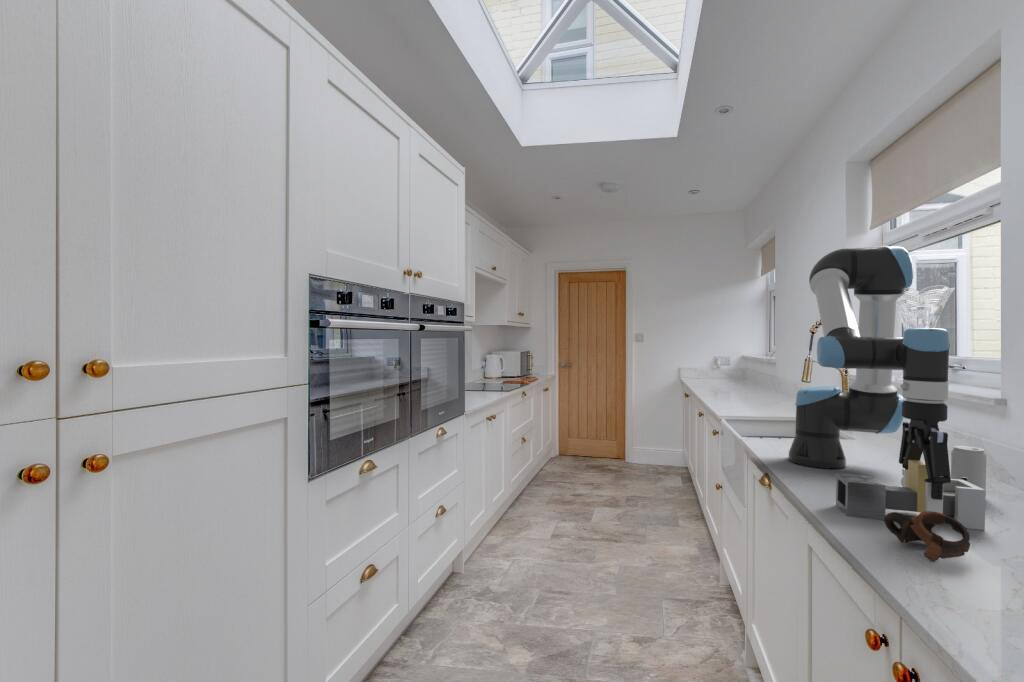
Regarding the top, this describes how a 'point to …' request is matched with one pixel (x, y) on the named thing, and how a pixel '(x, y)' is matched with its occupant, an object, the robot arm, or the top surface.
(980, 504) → the socket
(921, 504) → the two-tone stepped block
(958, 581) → the top surface
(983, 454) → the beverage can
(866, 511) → the gray block
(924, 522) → the rusty metal ring bracket
